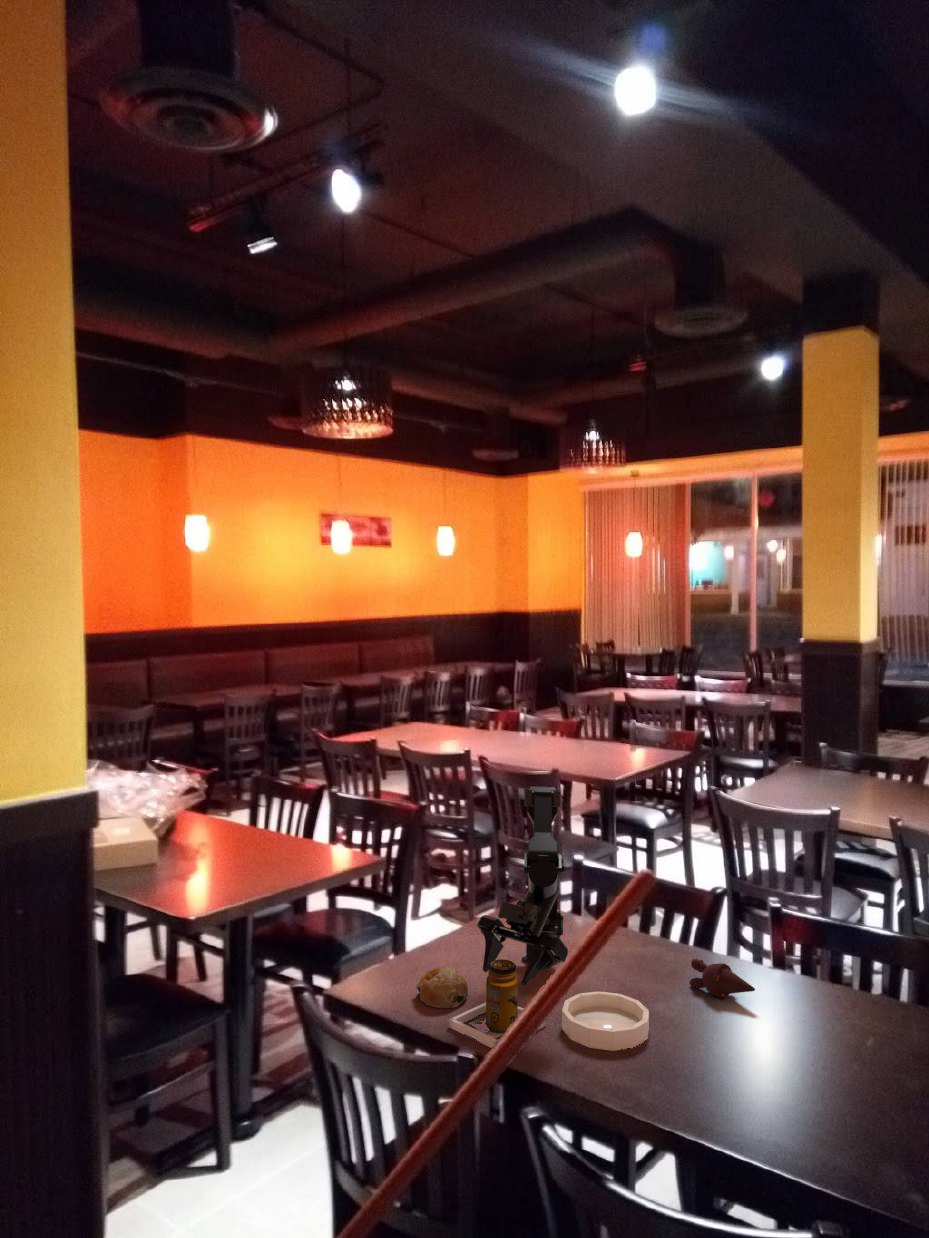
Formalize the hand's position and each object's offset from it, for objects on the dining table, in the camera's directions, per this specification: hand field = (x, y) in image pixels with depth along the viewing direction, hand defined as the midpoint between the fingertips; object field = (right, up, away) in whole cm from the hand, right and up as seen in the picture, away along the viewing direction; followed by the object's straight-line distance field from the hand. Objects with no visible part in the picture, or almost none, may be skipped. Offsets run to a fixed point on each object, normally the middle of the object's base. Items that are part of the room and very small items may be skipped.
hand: (503, 977), depth 171 cm
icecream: (+46, -9, +13) cm, 48 cm away
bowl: (+19, -9, -1) cm, 21 cm away
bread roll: (-12, -9, +11) cm, 19 cm away
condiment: (-1, -9, -1) cm, 9 cm away
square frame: (-1, -9, -1) cm, 9 cm away
